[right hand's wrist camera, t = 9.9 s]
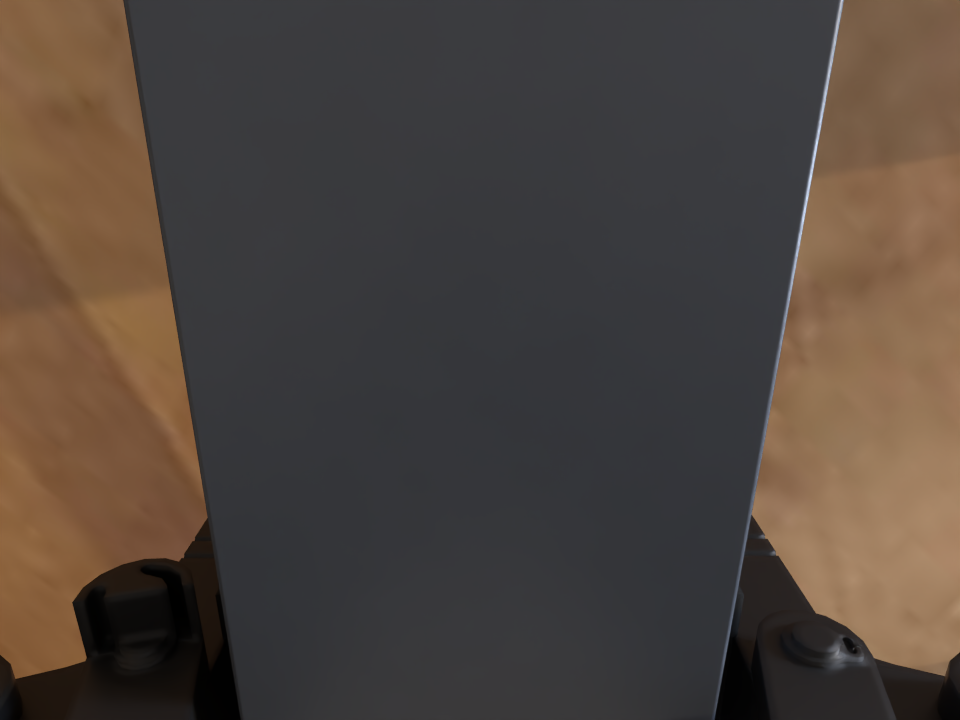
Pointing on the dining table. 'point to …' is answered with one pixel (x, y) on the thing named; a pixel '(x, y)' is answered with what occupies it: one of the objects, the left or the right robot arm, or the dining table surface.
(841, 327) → the dining table surface
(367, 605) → the board
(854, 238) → the dining table surface
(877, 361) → the dining table surface
